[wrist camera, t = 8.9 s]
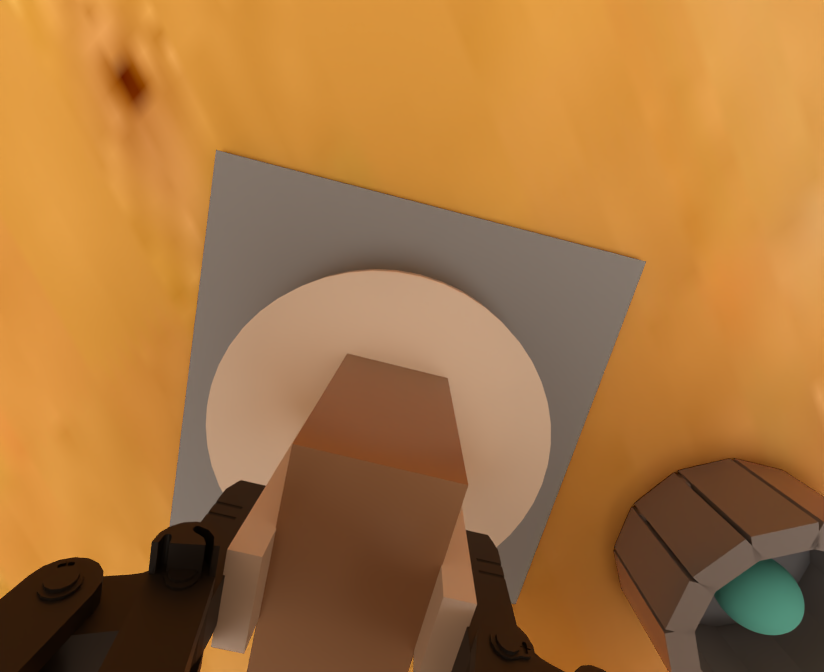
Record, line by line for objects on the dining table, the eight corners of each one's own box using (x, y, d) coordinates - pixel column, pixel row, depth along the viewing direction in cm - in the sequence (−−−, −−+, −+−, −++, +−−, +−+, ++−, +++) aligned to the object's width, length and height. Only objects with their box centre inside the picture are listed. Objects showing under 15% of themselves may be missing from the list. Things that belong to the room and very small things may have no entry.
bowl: (763, 643, 25) (847, 744, 20) (588, 604, 24) (631, 697, 19) (853, 487, 22) (976, 558, 17) (660, 440, 22) (730, 499, 17)
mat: (513, 595, 24) (515, 604, 24) (175, 520, 23) (169, 527, 23) (639, 260, 19) (646, 261, 19) (222, 152, 19) (216, 149, 18)
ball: (745, 596, 23) (804, 661, 19) (683, 582, 23) (732, 645, 19) (774, 542, 22) (842, 600, 18) (710, 527, 22) (766, 583, 18)
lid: (488, 593, 20) (534, 834, 12) (201, 529, 19) (47, 736, 11) (589, 317, 16) (747, 395, 9) (244, 229, 16) (70, 225, 8)
